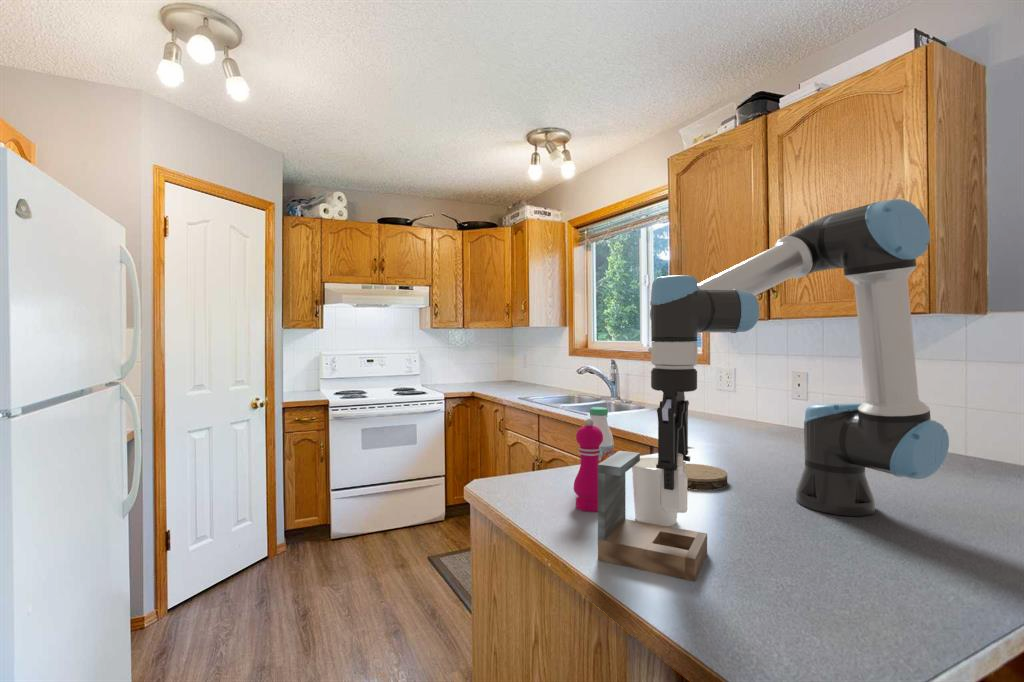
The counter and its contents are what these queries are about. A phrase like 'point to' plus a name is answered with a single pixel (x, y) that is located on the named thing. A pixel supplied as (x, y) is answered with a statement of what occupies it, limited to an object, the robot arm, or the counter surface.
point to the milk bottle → (603, 431)
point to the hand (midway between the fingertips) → (673, 502)
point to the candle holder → (649, 494)
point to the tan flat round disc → (705, 477)
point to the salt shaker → (681, 489)
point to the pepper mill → (588, 467)
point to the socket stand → (641, 530)
